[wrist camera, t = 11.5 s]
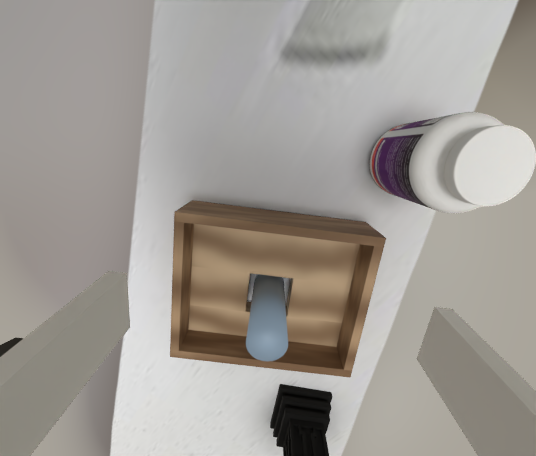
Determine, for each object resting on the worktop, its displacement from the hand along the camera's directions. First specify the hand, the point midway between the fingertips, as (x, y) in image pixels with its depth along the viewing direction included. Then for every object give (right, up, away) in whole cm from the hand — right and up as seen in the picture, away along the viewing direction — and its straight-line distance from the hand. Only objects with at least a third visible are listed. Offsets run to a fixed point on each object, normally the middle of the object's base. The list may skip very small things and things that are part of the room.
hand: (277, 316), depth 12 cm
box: (0, -3, +25) cm, 26 cm away
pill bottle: (+15, +12, +21) cm, 29 cm away
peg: (0, -4, +26) cm, 26 cm away
